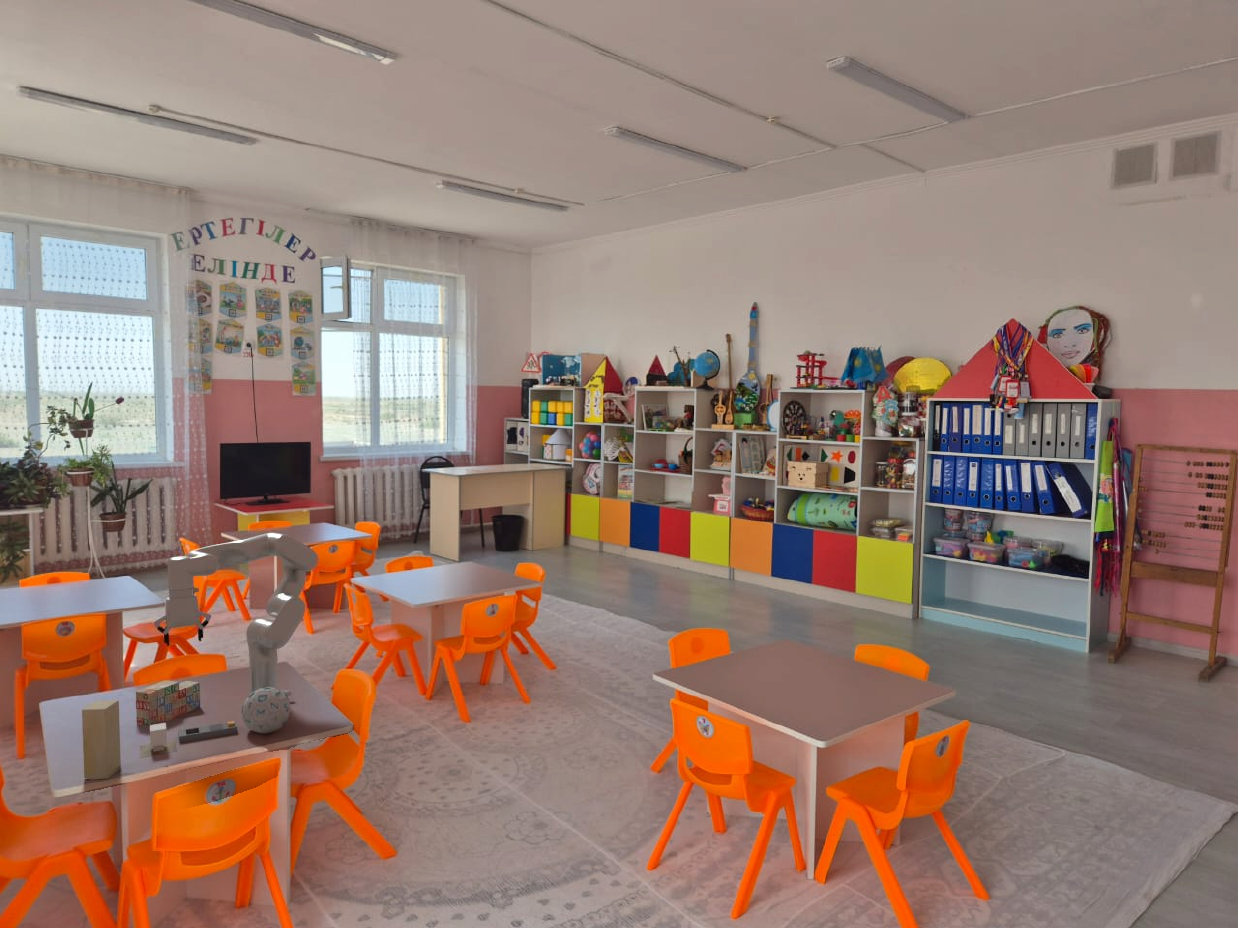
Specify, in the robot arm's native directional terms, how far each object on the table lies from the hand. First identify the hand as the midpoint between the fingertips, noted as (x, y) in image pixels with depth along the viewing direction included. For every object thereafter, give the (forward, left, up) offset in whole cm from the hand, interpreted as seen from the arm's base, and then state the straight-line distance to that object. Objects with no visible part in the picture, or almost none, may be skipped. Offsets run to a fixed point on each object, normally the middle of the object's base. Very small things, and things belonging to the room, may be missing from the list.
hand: (184, 642), depth 280 cm
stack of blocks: (+4, -14, -30) cm, 33 cm away
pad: (+9, +19, -29) cm, 36 cm away
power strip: (-6, +14, -29) cm, 33 cm away
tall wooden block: (+24, +29, -30) cm, 47 cm away
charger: (+9, +19, -28) cm, 35 cm away
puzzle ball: (-23, +18, -30) cm, 42 cm away
